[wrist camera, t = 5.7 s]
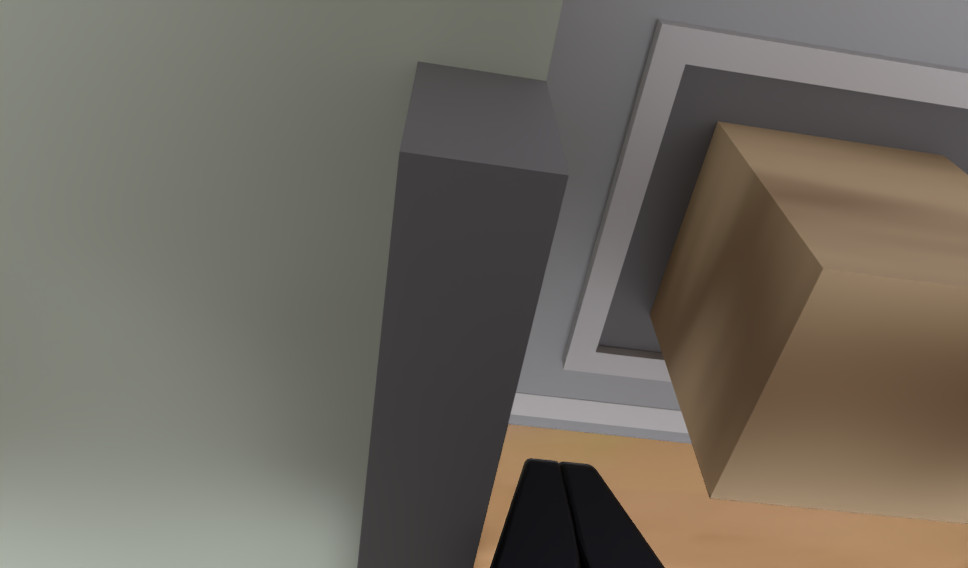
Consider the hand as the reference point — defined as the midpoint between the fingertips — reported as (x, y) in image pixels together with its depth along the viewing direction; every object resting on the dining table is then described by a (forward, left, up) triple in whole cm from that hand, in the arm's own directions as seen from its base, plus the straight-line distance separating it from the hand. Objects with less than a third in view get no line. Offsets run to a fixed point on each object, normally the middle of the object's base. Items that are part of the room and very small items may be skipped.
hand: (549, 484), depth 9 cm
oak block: (0, -6, -7) cm, 9 cm away
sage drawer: (0, +4, -7) cm, 8 cm away
